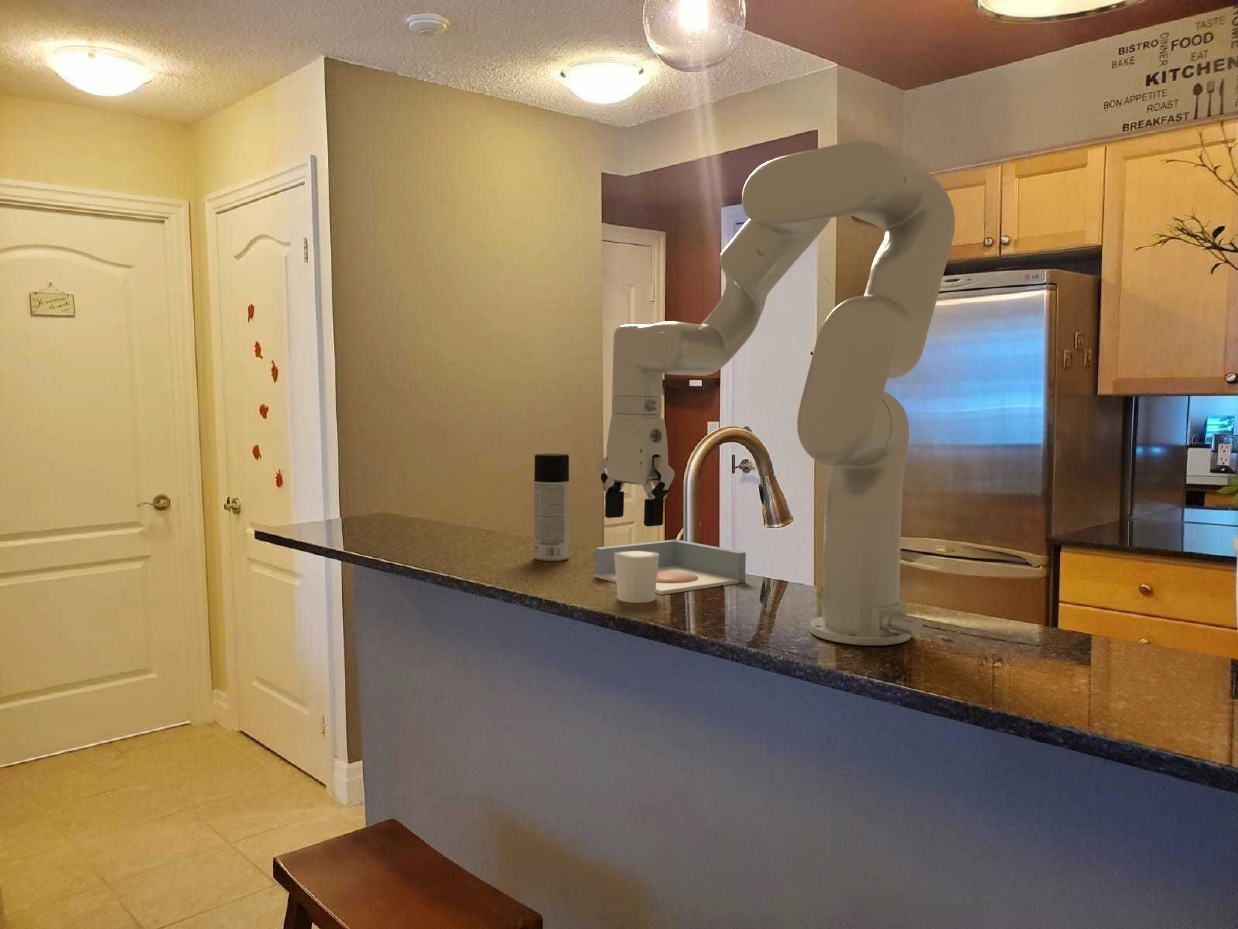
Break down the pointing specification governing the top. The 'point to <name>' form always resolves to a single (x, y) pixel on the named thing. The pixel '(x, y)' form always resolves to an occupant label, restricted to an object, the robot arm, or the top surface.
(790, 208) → the robot arm
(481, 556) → the top surface
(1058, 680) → the top surface
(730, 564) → the arena
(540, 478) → the spray can
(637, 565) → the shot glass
